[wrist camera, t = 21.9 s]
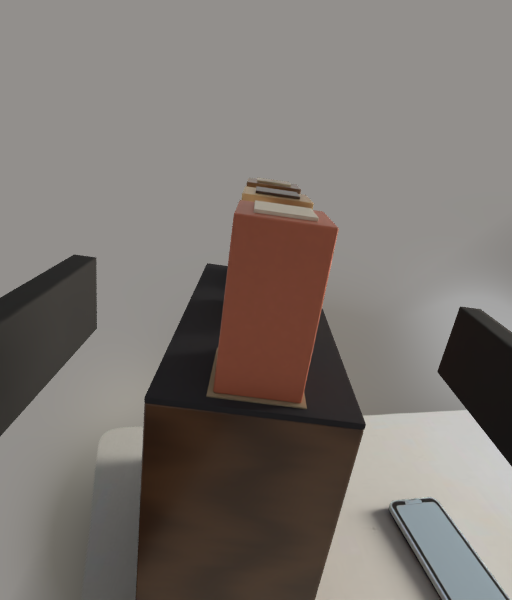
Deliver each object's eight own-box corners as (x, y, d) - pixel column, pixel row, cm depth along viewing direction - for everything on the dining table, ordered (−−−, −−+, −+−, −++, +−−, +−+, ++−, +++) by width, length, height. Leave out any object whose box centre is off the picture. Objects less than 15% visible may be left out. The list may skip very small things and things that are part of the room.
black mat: (144, 403, 21) (144, 395, 21) (206, 266, 46) (207, 262, 45) (364, 430, 22) (366, 422, 22) (310, 280, 46) (311, 276, 46)
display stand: (130, 699, 31) (144, 403, 21) (188, 458, 56) (206, 266, 46) (282, 714, 32) (364, 430, 22) (273, 468, 56) (310, 280, 46)
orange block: (212, 393, 22) (234, 208, 19) (221, 350, 27) (240, 195, 23) (301, 404, 22) (340, 223, 19) (294, 359, 27) (324, 208, 23)
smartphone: (466, 633, 39) (386, 501, 52) (462, 639, 39) (384, 506, 52) (526, 620, 40) (435, 496, 54) (523, 626, 41) (433, 501, 54)
